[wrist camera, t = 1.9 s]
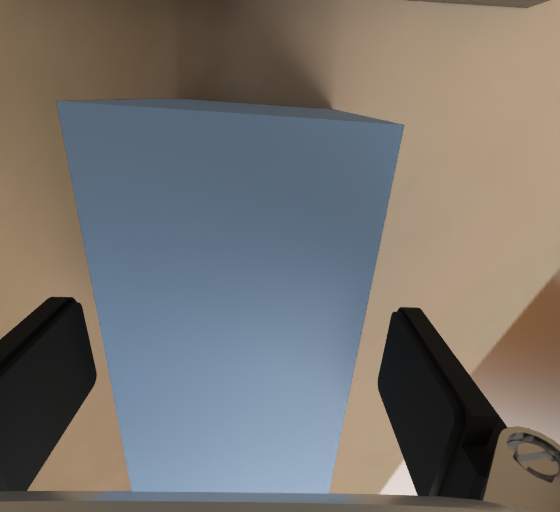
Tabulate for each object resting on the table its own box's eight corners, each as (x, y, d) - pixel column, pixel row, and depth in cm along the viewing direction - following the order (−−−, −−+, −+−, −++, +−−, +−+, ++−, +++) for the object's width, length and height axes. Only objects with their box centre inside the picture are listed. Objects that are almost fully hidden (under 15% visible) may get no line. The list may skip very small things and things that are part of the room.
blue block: (176, 98, 13) (56, 100, 6) (332, 109, 13) (404, 124, 6) (190, 347, 18) (136, 514, 11) (303, 351, 18) (323, 517, 11)
